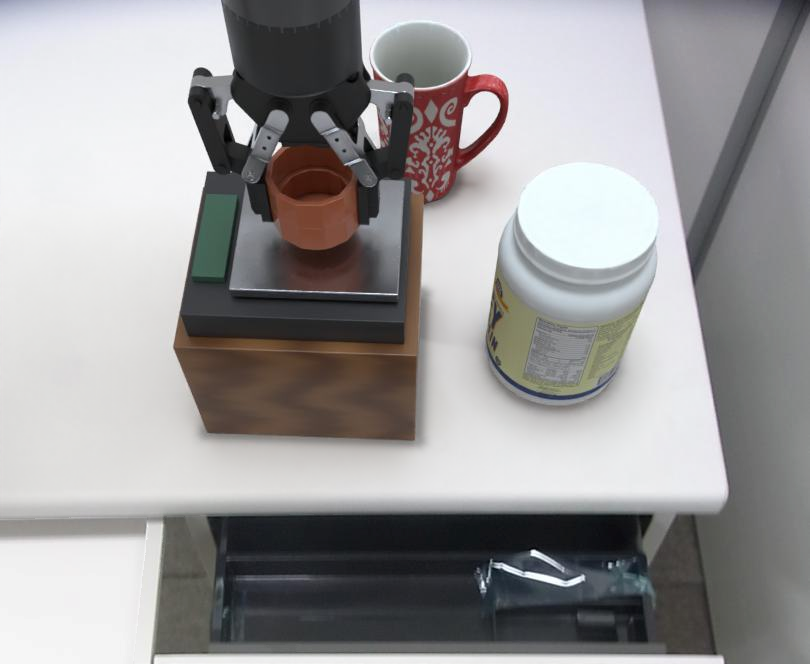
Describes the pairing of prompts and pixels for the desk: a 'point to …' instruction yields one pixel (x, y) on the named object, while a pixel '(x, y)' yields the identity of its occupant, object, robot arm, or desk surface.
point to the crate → (310, 375)
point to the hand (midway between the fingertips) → (316, 214)
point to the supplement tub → (571, 282)
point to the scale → (275, 317)
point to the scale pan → (322, 258)
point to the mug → (435, 99)
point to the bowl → (312, 197)
